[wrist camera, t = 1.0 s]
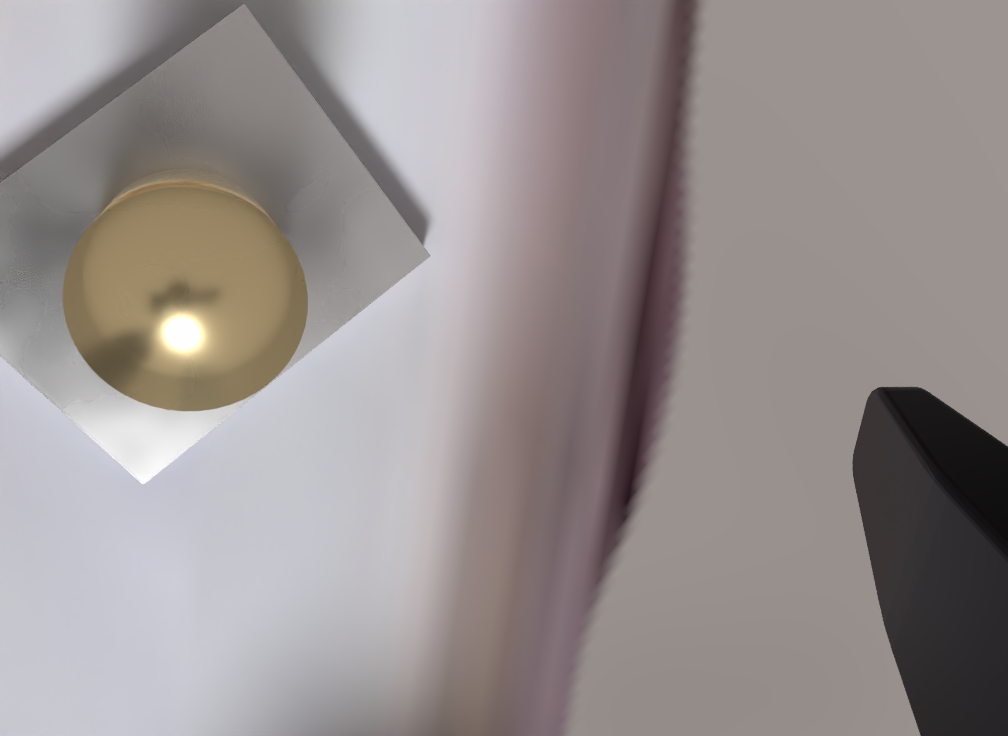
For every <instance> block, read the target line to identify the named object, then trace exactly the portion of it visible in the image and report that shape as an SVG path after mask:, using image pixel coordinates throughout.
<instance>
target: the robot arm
mask: <svg viewBox="0 0 1008 736" xmlns="http://www.w3.org/2000/svg"><path fill="white" fill-rule="evenodd" d="M853 477H854V482H855V488H856V493H857V497H858V502H859V507H860V511H861V517H862V522H863V527H864V531H865V536H866V541H867V546H868V551H869V556H870V560H871V566H872V570H873V575H874V580H875V585H876V590H877V595H878V600H879V604H880V608H881V613H882V617H883V621H884V625H885V629H886V632H887V635H888V638H889V642H890V645H891V648H892V652H893V654H894V658H895V661H896V663H897V666H898V669H899V672H900V675H901V678H902V681H903V684H904V687H905V690H906V693H907V696H908V699H909V702H910V705H911V708H912V711H913V714H914V717H915V720H916V723H917V726H918V729H919V732H920V735H921V736H1008V446H1006V445H1005V444H1003V443H1002V442H1001V441H999V440H997V439H996V438H995V437H993V436H992V435H990V434H989V433H988V432H986V431H985V430H983V429H981V428H980V427H979V426H977V425H976V424H974V423H973V422H971V421H970V420H969V419H967V418H966V417H964V416H963V415H961V414H960V413H958V412H957V411H956V410H954V409H953V408H951V407H950V406H948V405H947V404H945V403H944V402H942V401H941V400H940V399H938V398H936V397H935V396H934V395H932V394H931V393H929V392H928V391H926V390H924V389H922V388H919V387H879V388H877V389H875V390H874V391H872V392H871V394H870V396H869V397H868V400H867V403H866V407H865V410H864V414H863V419H862V422H861V426H860V430H859V434H858V438H857V442H856V446H855V450H854V454H853Z"/></svg>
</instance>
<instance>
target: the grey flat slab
mask: <svg viewBox="0 0 1008 736" xmlns="http://www.w3.org/2000/svg"><path fill="white" fill-rule="evenodd" d="M169 169H197V170H202V171H206V172H211V173H213V174H216V175H219V176H222V177H224V178H226V179H228V180H230V181H232V182H234V183H235V184H237V185H239V186H240V187H242V188H243V189H244V190H245V191H247V192H248V193H249V194H250V195H251V196H253V198H254V199H255V200H256V201H257V202H258V203H259V204H260V205H261V206H262V208H263V209H264V210H265V211H266V213H267V214H268V215H269V217H270V218H271V219H272V220H273V222H274V223H275V224H276V225H277V227H278V228H279V229H280V231H281V232H282V233H283V235H284V236H285V237H286V239H287V240H288V241H289V243H290V244H291V246H292V248H293V249H294V251H295V253H296V255H297V257H298V259H299V261H300V264H301V267H302V269H303V272H304V276H305V280H306V285H307V294H308V314H307V319H306V325H305V329H304V332H303V335H302V338H301V341H300V343H299V345H298V347H297V349H296V352H295V353H294V355H293V356H292V358H291V360H290V361H289V363H288V364H287V365H286V367H285V368H284V369H283V370H282V371H281V372H280V374H279V375H278V376H277V377H276V378H278V377H279V376H280V375H281V374H283V373H284V372H285V371H287V370H288V369H289V368H290V367H292V366H293V365H294V364H295V363H297V362H298V361H299V360H300V359H302V358H303V357H304V356H305V355H307V354H308V353H309V352H310V351H312V350H313V349H314V348H315V347H317V346H318V345H319V344H320V343H322V342H323V341H324V340H325V339H327V338H328V337H329V336H330V335H332V334H333V333H334V332H335V331H337V330H338V329H339V328H340V327H342V326H343V325H344V324H346V323H347V322H348V321H349V320H351V319H352V318H353V317H354V316H356V315H357V314H358V313H359V312H361V311H362V310H363V309H364V308H366V307H367V306H368V305H369V304H371V303H372V302H373V301H374V300H376V299H377V298H378V297H379V296H381V295H382V294H383V293H384V292H386V291H387V290H388V289H389V288H391V287H392V286H393V285H394V284H396V283H397V282H398V281H400V280H401V279H402V278H403V277H405V276H406V275H407V274H408V273H410V272H411V271H412V270H413V269H415V268H416V267H417V266H418V265H420V264H421V263H422V262H423V261H425V260H426V259H427V258H428V257H430V254H429V253H428V252H427V250H426V249H425V248H424V246H423V245H422V243H421V242H420V241H419V239H418V238H417V237H416V235H415V234H414V233H413V231H412V230H411V229H410V227H409V226H408V224H407V223H406V222H405V220H404V219H403V218H402V216H401V215H400V214H399V212H398V211H397V210H396V208H395V207H394V206H393V204H392V203H391V201H390V200H389V199H388V197H387V196H386V195H385V193H384V192H383V191H382V189H381V188H380V187H379V185H378V184H377V182H376V181H375V180H374V178H373V177H372V176H371V174H370V173H369V172H368V170H367V169H366V168H365V166H364V165H363V164H362V162H361V161H360V159H359V158H358V157H357V155H356V154H355V153H354V151H353V150H352V149H351V147H350V146H349V145H348V143H347V142H346V140H345V139H344V138H343V136H342V135H341V134H340V132H339V131H338V130H337V128H336V127H335V126H334V124H333V123H332V122H331V120H330V119H329V117H328V116H327V115H326V113H325V112H324V111H323V109H322V108H321V107H320V105H319V104H318V103H317V101H316V100H315V99H314V97H313V96H312V94H311V93H310V92H309V90H308V89H307V88H306V86H305V85H304V84H303V82H302V81H301V80H300V78H299V77H298V75H297V74H296V73H295V71H294V70H293V69H292V67H291V66H290V65H289V63H288V62H287V61H286V59H285V58H284V57H283V55H282V54H281V52H280V51H279V50H278V48H277V47H276V46H275V44H274V43H273V42H272V40H271V39H270V38H269V36H268V35H267V33H266V32H265V31H264V29H263V28H262V27H261V25H260V24H259V23H258V21H257V20H256V19H255V17H254V16H253V15H252V13H251V12H250V10H249V9H248V8H247V6H246V5H245V4H243V5H241V6H240V7H238V8H237V9H236V10H234V11H233V12H232V13H230V14H229V15H228V16H226V17H225V18H223V19H222V20H221V21H219V22H218V23H217V24H215V25H214V26H213V27H211V28H210V29H208V30H207V31H206V32H204V33H203V34H202V35H200V36H199V37H198V38H196V39H195V40H194V41H192V42H191V43H189V44H188V45H187V46H185V47H184V48H183V49H181V50H180V51H179V52H177V53H176V54H174V55H173V56H172V57H170V58H169V59H168V60H166V61H165V62H164V63H162V64H161V65H160V66H158V67H157V68H155V69H154V70H153V71H151V72H150V73H149V74H147V75H146V76H145V77H143V78H142V79H140V80H139V81H138V82H136V83H135V84H134V85H132V86H131V87H130V88H128V89H127V90H125V91H124V92H123V93H121V94H120V95H119V96H117V97H116V98H115V99H113V100H112V101H111V102H109V103H108V104H106V105H105V106H104V107H102V108H101V109H100V110H98V111H97V112H96V113H94V114H93V115H91V116H90V117H89V118H87V119H86V120H85V121H83V122H82V123H81V124H79V125H78V126H77V127H75V128H74V129H72V130H71V131H70V132H68V133H67V134H66V135H64V136H63V137H62V138H60V139H59V140H57V141H56V142H55V143H53V144H52V145H51V146H49V147H48V148H47V149H45V150H44V151H43V152H41V153H40V154H38V155H37V156H36V157H34V158H33V159H32V160H30V161H29V162H28V163H26V164H25V165H23V166H22V167H21V168H19V169H18V170H17V171H15V172H14V173H13V174H11V175H10V176H8V177H7V178H6V179H4V180H3V181H2V182H0V356H1V357H2V358H3V359H4V360H5V361H6V362H7V363H9V364H10V365H11V366H12V367H13V368H14V369H15V370H16V371H17V372H19V373H20V374H21V375H22V376H23V377H24V378H25V379H26V380H27V381H29V382H30V383H31V384H32V385H33V386H34V387H35V388H36V389H37V390H39V391H40V392H41V393H42V394H43V395H44V396H45V397H46V398H47V399H49V400H50V401H51V402H52V403H53V404H54V405H55V406H56V407H57V408H59V409H60V410H61V411H62V412H63V413H64V414H65V415H66V416H67V417H69V418H70V419H71V420H72V421H73V422H74V423H75V424H76V425H77V426H78V427H80V428H81V429H82V430H83V431H84V432H85V433H86V434H87V435H88V436H90V437H91V438H92V439H93V440H94V441H95V442H96V443H97V444H98V445H100V446H101V447H102V448H103V449H104V450H105V451H106V452H107V453H108V454H110V455H111V456H112V457H113V458H114V459H115V460H116V461H117V462H118V463H120V464H121V465H122V466H123V467H124V468H125V469H126V470H127V471H128V472H130V473H131V474H132V475H133V476H134V477H135V478H136V479H137V480H138V481H140V482H141V483H142V484H145V483H146V482H147V481H148V480H150V479H151V478H152V477H153V476H155V475H156V474H157V473H158V472H160V471H161V470H162V469H163V468H165V467H166V466H167V465H168V464H170V463H171V462H172V461H173V460H175V459H176V458H177V457H179V456H180V455H181V454H182V453H184V452H185V451H186V450H187V449H189V448H190V447H191V446H192V445H194V444H195V443H196V442H197V441H199V440H200V439H201V438H202V437H204V436H205V435H206V434H207V433H209V432H210V431H211V430H212V429H214V428H215V427H216V426H217V425H219V424H220V423H221V422H222V421H224V420H225V419H226V418H227V417H229V416H230V415H231V414H233V413H234V412H235V411H236V410H238V409H239V408H240V407H241V406H243V405H244V404H245V403H246V402H248V401H249V400H250V399H251V398H253V397H254V396H255V395H256V394H258V393H259V392H260V391H261V390H263V389H264V388H265V387H266V386H265V387H264V388H262V389H261V390H259V391H258V392H257V393H255V394H253V395H251V396H249V397H247V398H246V399H244V400H241V401H239V402H236V403H234V404H231V405H228V406H224V407H220V408H217V409H211V410H204V411H175V410H166V409H162V408H157V407H153V406H150V405H147V404H144V403H141V402H138V401H136V400H134V399H132V398H130V397H128V396H126V395H124V394H122V393H120V392H119V391H117V390H116V389H114V388H113V387H111V386H110V385H109V384H107V383H106V382H105V381H104V380H103V379H101V378H100V377H99V376H98V375H97V374H96V373H95V372H94V371H93V370H92V369H91V368H90V366H89V365H88V364H87V363H86V362H85V360H84V359H83V357H82V356H81V354H80V353H79V352H78V350H77V348H76V346H75V344H74V342H73V340H72V338H71V335H70V333H69V330H68V327H67V324H66V320H65V314H64V309H63V284H64V276H65V272H66V268H67V265H68V261H69V259H70V257H71V254H72V252H73V250H74V248H75V246H76V244H77V243H78V241H79V240H80V238H81V237H82V235H83V234H84V232H85V231H86V230H87V229H88V228H89V227H90V225H91V224H92V223H93V222H94V221H95V220H96V218H97V217H98V216H99V215H100V214H101V213H102V212H103V210H104V209H105V208H106V207H107V206H108V205H109V203H110V202H111V201H112V200H113V199H114V198H115V197H116V195H117V194H118V193H120V192H121V191H122V190H123V189H124V188H125V187H127V186H128V185H130V184H131V183H133V182H134V181H136V180H138V179H140V178H142V177H144V176H146V175H149V174H152V173H155V172H159V171H163V170H169ZM276 378H275V379H276ZM275 379H273V380H272V381H271V382H273V381H274V380H275ZM271 382H270V383H271ZM270 383H269V384H270ZM269 384H268V385H269ZM268 385H267V386H268Z"/></svg>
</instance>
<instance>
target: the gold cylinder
mask: <svg viewBox="0 0 1008 736" xmlns="http://www.w3.org/2000/svg"><path fill="white" fill-rule="evenodd" d="M63 309H64V314H65V320H66V324H67V327H68V330H69V333H70V335H71V338H72V340H73V342H74V344H75V346H76V348H77V350H78V352H79V353H80V354H81V356H82V357H83V359H84V360H85V362H86V363H87V364H88V365H89V366H90V368H91V369H92V370H93V371H94V372H95V373H96V374H97V375H98V376H99V377H100V378H101V379H103V380H104V381H105V382H106V383H107V384H109V385H110V386H111V387H113V388H114V389H116V390H117V391H119V392H120V393H122V394H124V395H126V396H128V397H130V398H132V399H134V400H136V401H138V402H141V403H144V404H147V405H150V406H153V407H157V408H162V409H166V410H175V411H204V410H211V409H217V408H220V407H224V406H228V405H231V404H234V403H236V402H239V401H241V400H244V399H246V398H247V397H249V396H251V395H253V394H255V393H257V392H258V391H259V390H261V389H262V388H264V387H265V386H267V385H268V384H269V383H270V382H271V381H272V380H273V379H275V378H276V377H277V376H278V375H279V374H280V372H281V371H282V370H283V369H284V368H285V367H286V365H287V364H288V363H289V361H290V360H291V358H292V356H293V355H294V353H295V352H296V349H297V347H298V345H299V343H300V341H301V338H302V335H303V332H304V329H305V325H306V319H307V314H308V294H307V285H306V280H305V276H304V272H303V269H302V267H301V264H300V261H299V259H298V257H297V255H296V253H295V251H294V249H293V248H292V246H291V244H290V243H289V241H288V240H287V239H286V237H285V236H284V235H283V233H282V232H281V231H280V229H279V228H278V227H277V225H276V224H275V223H274V222H273V220H272V219H271V218H270V217H269V215H268V214H267V213H266V211H265V210H264V209H263V208H262V206H261V205H260V204H259V203H258V202H257V201H256V200H255V199H254V198H253V196H251V195H250V194H249V193H248V192H247V191H245V190H244V189H243V188H242V187H240V186H239V185H237V184H235V183H234V182H232V181H230V180H228V179H226V178H224V177H222V176H219V175H216V174H213V173H211V172H206V171H202V170H197V169H169V170H163V171H159V172H155V173H152V174H149V175H146V176H144V177H142V178H140V179H138V180H136V181H134V182H133V183H131V184H130V185H128V186H127V187H125V188H124V189H123V190H122V191H121V192H120V193H118V194H117V195H116V197H115V198H114V199H113V200H112V201H111V202H110V203H109V205H108V206H107V207H106V208H105V209H104V210H103V212H102V213H101V214H100V215H99V216H98V217H97V218H96V220H95V221H94V222H93V223H92V224H91V225H90V227H89V228H88V229H87V230H86V231H85V232H84V234H83V235H82V237H81V238H80V240H79V241H78V243H77V244H76V246H75V248H74V250H73V252H72V254H71V257H70V259H69V261H68V265H67V268H66V272H65V276H64V284H63Z"/></svg>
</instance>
